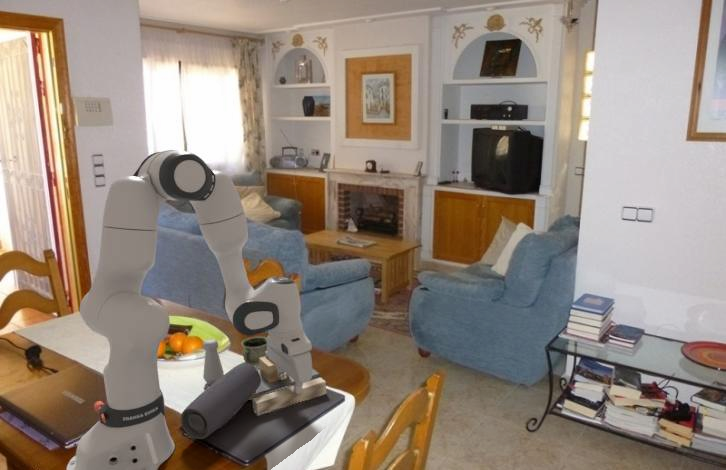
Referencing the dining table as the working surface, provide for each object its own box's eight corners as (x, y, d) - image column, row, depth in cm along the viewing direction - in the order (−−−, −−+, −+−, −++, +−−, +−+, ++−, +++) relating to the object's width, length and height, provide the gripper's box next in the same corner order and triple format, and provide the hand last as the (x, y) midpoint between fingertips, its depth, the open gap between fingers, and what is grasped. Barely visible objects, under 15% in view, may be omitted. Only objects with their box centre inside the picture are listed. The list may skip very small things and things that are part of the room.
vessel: (256, 350, 180) (255, 332, 179) (279, 354, 177) (277, 336, 175) (233, 365, 170) (231, 346, 169) (256, 370, 166) (255, 351, 165)
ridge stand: (248, 401, 148) (245, 373, 146) (231, 383, 158) (229, 357, 157) (319, 378, 159) (318, 352, 157) (299, 362, 170) (298, 338, 168)
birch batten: (257, 417, 140) (256, 403, 139) (253, 412, 142) (252, 398, 141) (326, 394, 150) (325, 381, 149) (321, 390, 153) (320, 377, 152)
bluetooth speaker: (236, 392, 151) (230, 359, 148) (265, 396, 147) (260, 362, 145) (182, 441, 130) (175, 403, 128) (214, 446, 127) (207, 408, 124)
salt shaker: (218, 387, 156) (214, 345, 153) (200, 386, 157) (195, 344, 154) (227, 378, 161) (223, 337, 159) (210, 377, 162) (205, 336, 160)
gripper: (259, 328, 150) (263, 374, 153) (292, 352, 133) (296, 404, 136) (280, 322, 153) (284, 367, 156) (315, 345, 136) (318, 396, 139)
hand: (290, 385), depth 146 cm, fingers open, 8 cm apart
